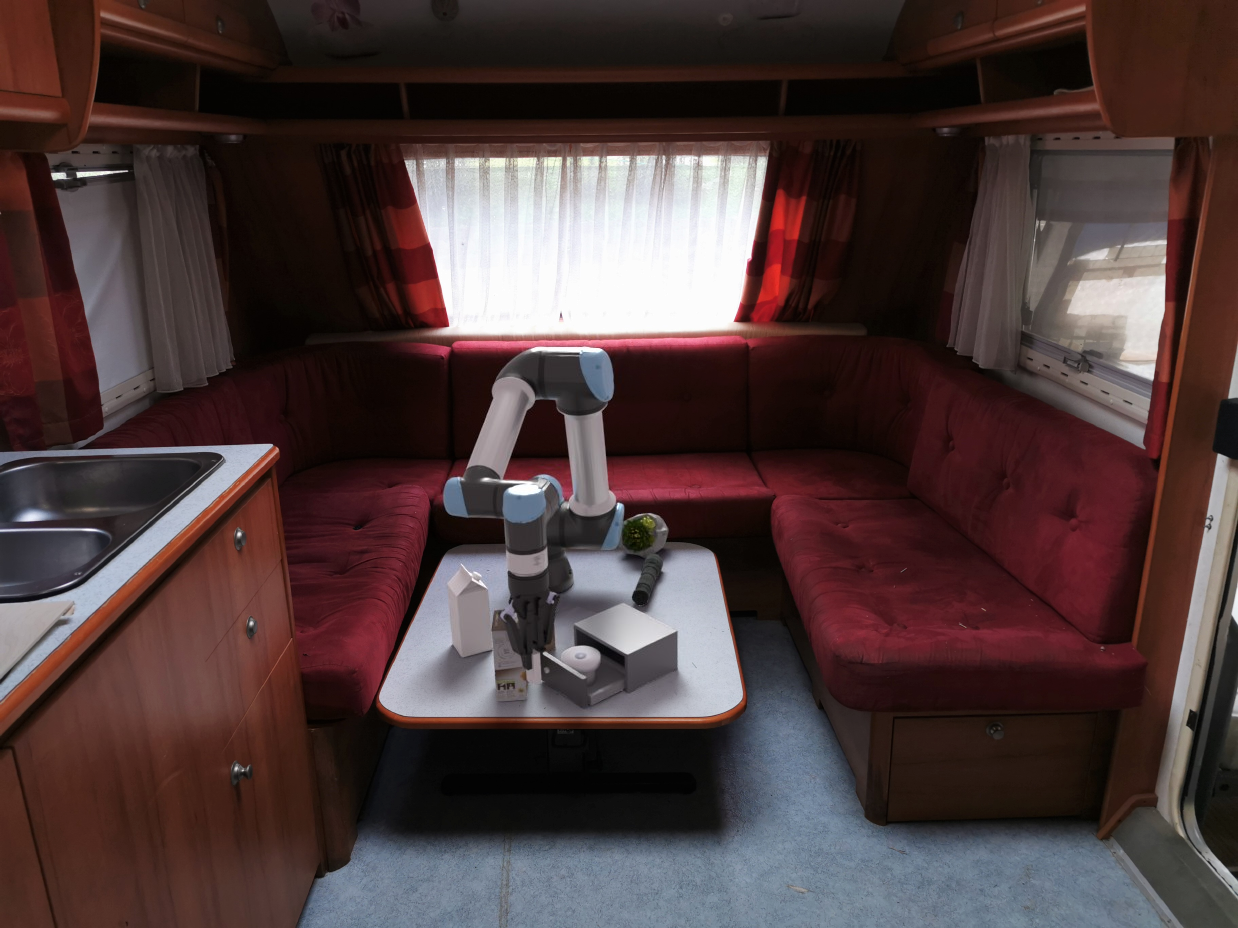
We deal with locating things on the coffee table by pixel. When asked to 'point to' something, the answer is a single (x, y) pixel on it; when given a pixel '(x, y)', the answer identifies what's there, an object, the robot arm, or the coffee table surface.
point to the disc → (581, 658)
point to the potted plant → (643, 535)
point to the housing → (631, 643)
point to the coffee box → (507, 664)
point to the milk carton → (469, 613)
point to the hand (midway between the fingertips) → (534, 681)
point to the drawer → (583, 680)
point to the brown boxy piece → (551, 645)
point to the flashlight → (647, 579)
